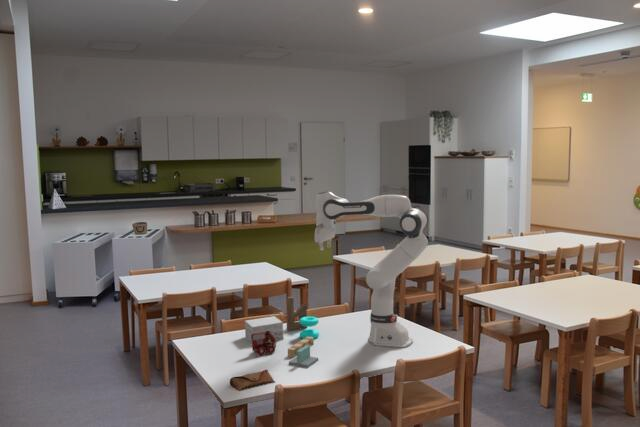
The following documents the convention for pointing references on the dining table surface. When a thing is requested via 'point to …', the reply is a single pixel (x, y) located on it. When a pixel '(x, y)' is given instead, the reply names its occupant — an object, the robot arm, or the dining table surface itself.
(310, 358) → the fulcrum
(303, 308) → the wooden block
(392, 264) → the robot arm
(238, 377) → the sunglasses case
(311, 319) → the donuts
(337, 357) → the dining table surface
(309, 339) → the oak bar
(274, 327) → the supplement box
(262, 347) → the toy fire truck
